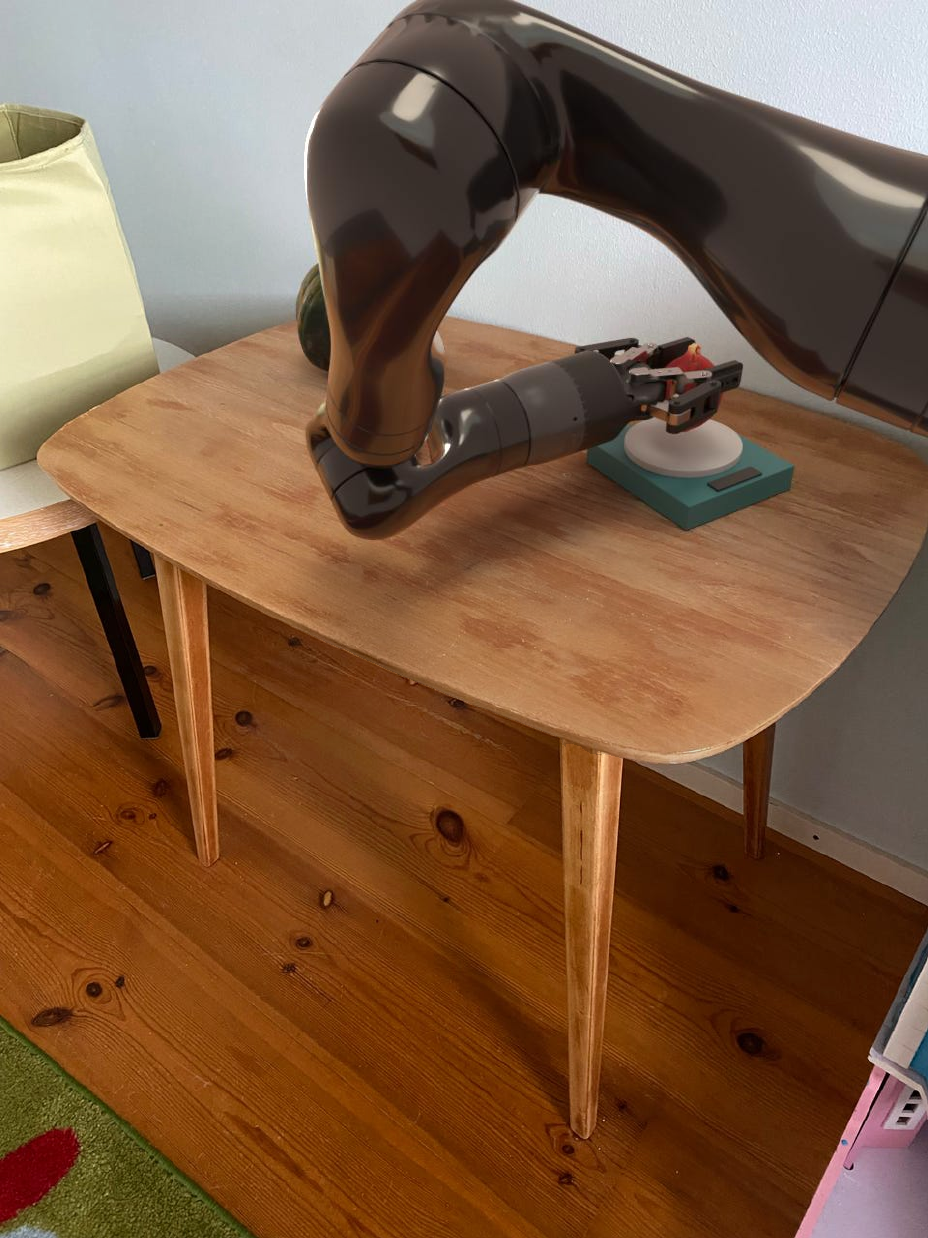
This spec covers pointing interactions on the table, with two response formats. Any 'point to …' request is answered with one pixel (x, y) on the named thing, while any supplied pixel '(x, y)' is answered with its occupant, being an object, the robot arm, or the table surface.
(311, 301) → the squash
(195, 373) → the table surface
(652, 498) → the scale
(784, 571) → the table surface
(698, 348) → the onion
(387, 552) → the table surface
